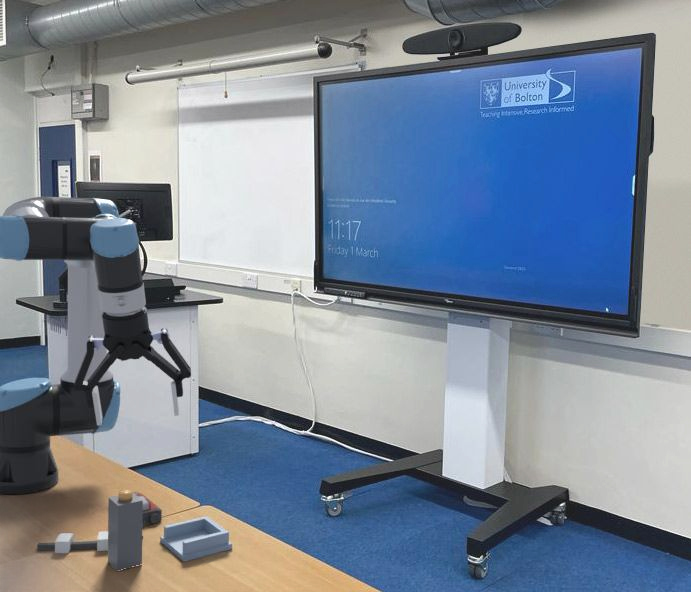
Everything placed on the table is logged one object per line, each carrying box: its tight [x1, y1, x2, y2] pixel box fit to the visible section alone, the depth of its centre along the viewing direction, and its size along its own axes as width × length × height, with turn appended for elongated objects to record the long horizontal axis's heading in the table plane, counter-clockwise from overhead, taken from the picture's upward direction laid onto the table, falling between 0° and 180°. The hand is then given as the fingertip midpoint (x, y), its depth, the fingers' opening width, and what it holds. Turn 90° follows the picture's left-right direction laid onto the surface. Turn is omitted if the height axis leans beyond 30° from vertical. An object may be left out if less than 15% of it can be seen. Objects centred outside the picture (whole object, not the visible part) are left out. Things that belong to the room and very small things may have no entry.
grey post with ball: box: [107, 489, 143, 572], centre depth 136 cm, size 4×4×13 cm
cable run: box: [36, 530, 108, 554], centre depth 142 cm, size 4×16×2 cm, turn 102°
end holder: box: [159, 515, 233, 563], centre depth 145 cm, size 10×10×3 cm
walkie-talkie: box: [133, 491, 163, 540], centre depth 155 cm, size 9×4×20 cm
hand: (138, 416), depth 140 cm, fingers open, 13 cm apart
